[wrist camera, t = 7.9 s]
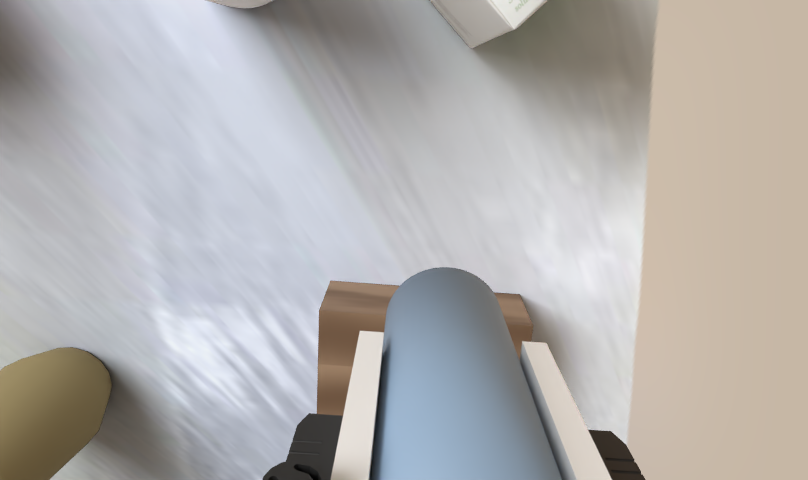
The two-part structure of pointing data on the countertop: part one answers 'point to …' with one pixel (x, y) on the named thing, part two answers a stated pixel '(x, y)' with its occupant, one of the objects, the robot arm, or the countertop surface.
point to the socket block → (366, 311)
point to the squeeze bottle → (49, 411)
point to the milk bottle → (241, 3)
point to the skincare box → (485, 17)
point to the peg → (454, 388)
